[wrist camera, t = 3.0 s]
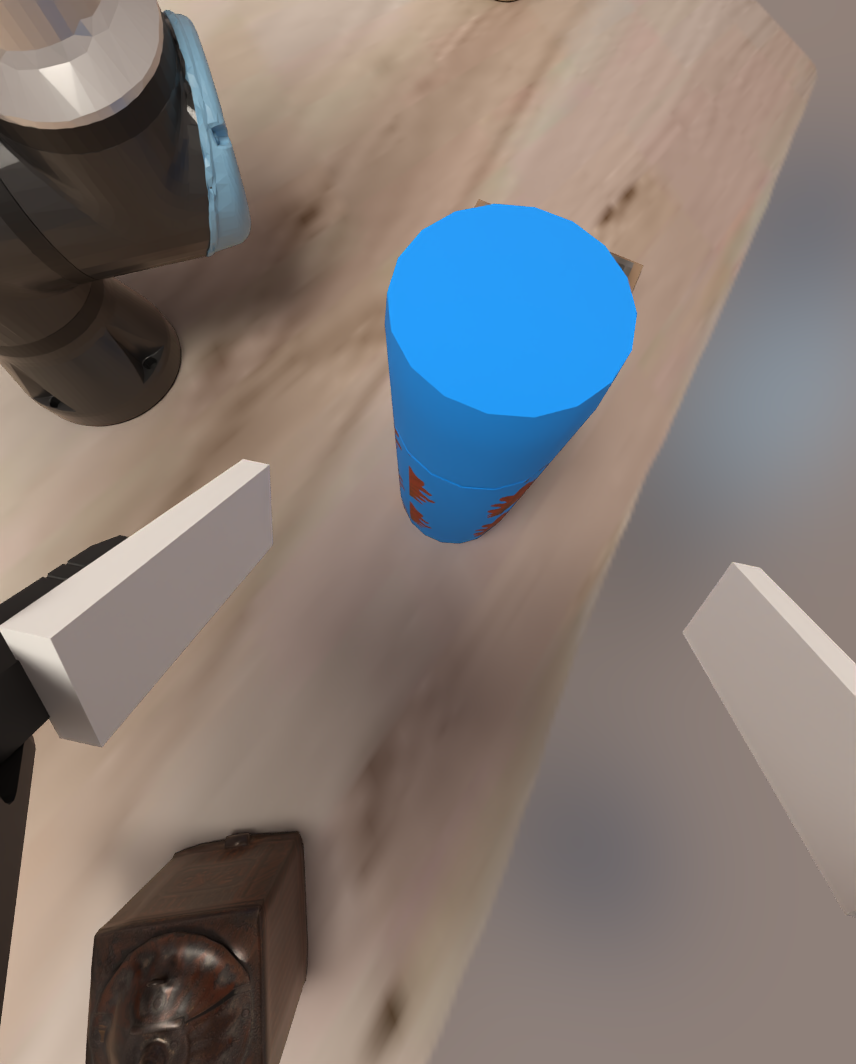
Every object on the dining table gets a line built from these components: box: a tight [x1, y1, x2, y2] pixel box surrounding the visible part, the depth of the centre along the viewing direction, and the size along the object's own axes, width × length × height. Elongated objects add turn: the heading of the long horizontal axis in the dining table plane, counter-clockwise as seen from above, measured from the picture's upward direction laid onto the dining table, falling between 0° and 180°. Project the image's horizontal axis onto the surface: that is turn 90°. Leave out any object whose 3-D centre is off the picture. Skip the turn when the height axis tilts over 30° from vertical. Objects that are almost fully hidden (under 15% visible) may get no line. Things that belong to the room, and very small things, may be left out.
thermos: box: [385, 204, 637, 543], centre depth 29 cm, size 11×11×25 cm
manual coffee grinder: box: [86, 832, 307, 1064], centre depth 24 cm, size 16×11×18 cm
